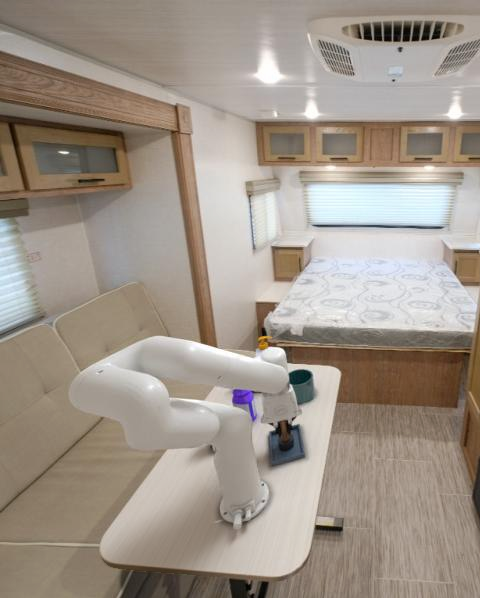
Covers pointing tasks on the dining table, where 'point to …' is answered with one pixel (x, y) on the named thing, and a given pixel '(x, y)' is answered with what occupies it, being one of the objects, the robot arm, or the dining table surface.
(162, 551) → the dining table surface
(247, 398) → the bottle
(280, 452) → the dish
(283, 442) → the scrub brush
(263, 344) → the soap bottle
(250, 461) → the robot arm
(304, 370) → the canister
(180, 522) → the dining table surface
